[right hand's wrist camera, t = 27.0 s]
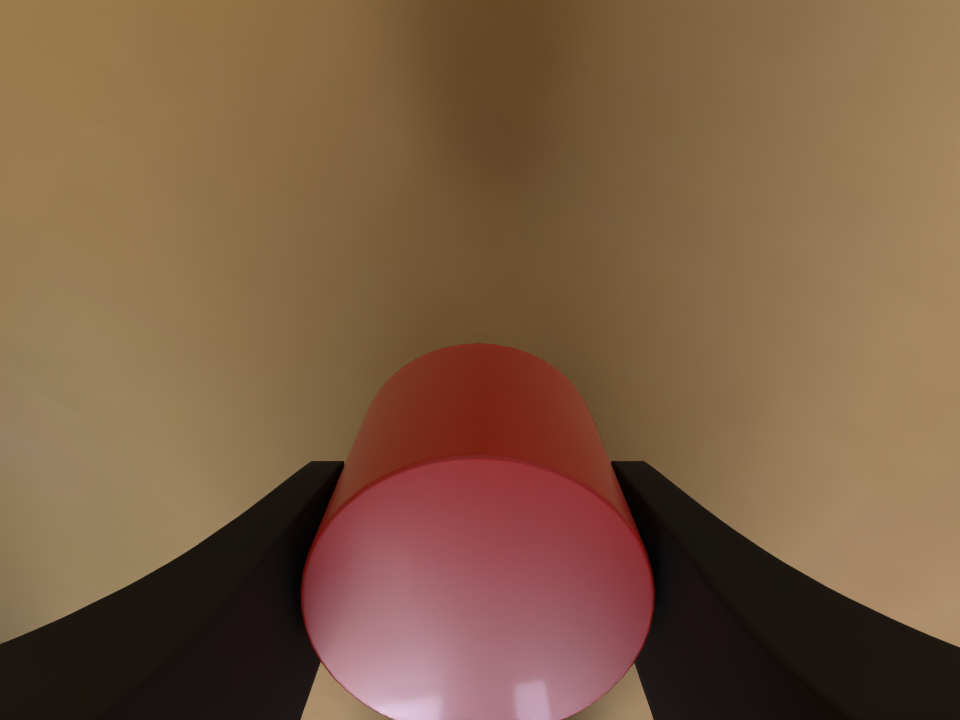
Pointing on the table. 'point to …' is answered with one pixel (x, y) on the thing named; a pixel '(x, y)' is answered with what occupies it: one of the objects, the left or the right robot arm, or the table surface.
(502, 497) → the can
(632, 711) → the table surface
